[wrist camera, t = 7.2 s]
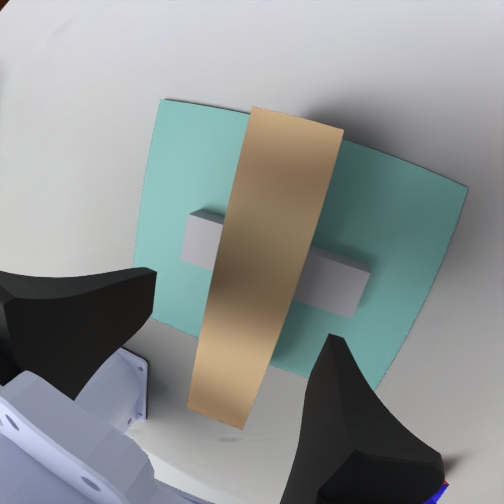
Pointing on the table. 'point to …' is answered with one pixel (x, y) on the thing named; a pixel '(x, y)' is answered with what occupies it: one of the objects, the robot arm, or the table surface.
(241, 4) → the table surface
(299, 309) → the board
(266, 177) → the bronze bar
